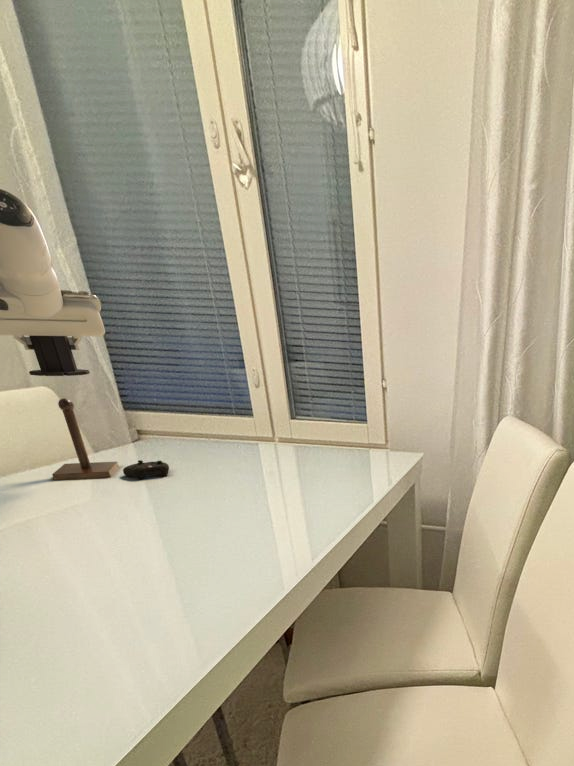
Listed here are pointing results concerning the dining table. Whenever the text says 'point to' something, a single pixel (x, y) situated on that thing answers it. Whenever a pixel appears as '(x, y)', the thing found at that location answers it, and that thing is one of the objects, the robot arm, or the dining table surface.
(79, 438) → the hat stand
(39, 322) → the robot arm
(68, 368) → the hat
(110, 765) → the dining table surface
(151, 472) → the gaming controller
